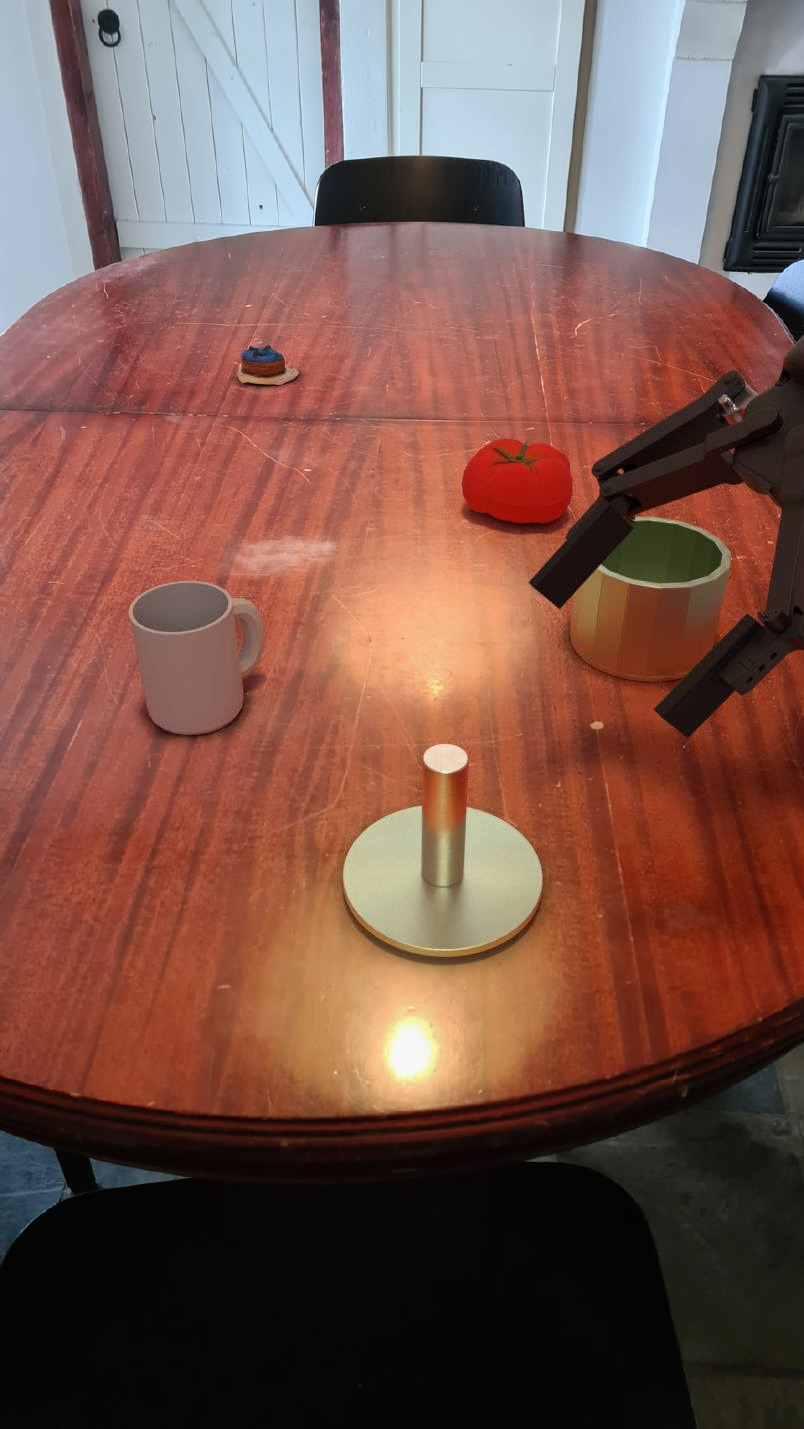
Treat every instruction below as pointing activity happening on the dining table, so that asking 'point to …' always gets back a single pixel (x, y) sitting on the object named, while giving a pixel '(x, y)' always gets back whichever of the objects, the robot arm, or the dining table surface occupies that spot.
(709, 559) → the round metal container
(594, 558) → the robot arm
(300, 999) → the dining table surface
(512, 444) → the tomato
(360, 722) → the dining table surface
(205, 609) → the cup
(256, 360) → the dessert
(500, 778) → the dining table surface
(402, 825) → the lid
